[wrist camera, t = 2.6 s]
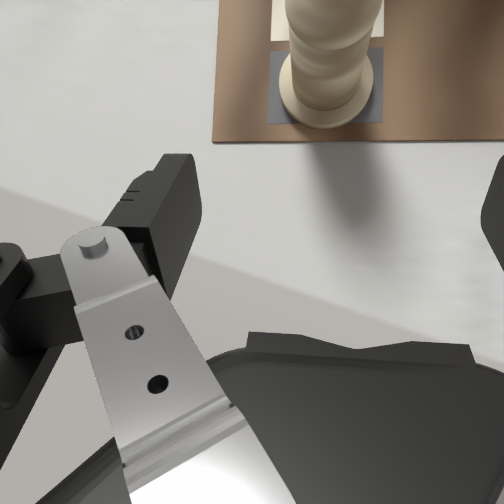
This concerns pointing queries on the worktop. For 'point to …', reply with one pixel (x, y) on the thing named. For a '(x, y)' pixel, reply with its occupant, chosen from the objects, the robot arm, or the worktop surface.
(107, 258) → the robot arm
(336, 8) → the birch pawn
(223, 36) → the game board
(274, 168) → the worktop surface
